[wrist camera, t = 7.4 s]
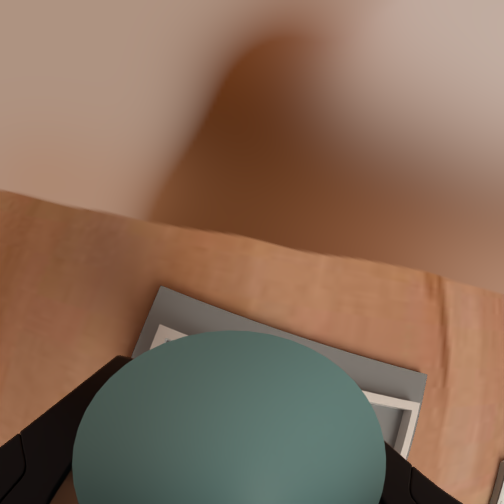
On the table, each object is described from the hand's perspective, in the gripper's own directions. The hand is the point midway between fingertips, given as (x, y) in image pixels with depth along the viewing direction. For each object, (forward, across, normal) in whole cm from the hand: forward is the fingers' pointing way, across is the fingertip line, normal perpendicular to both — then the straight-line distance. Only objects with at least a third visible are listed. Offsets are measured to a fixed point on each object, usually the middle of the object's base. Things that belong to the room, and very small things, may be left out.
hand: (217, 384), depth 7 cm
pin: (+3, 0, +5) cm, 6 cm away
